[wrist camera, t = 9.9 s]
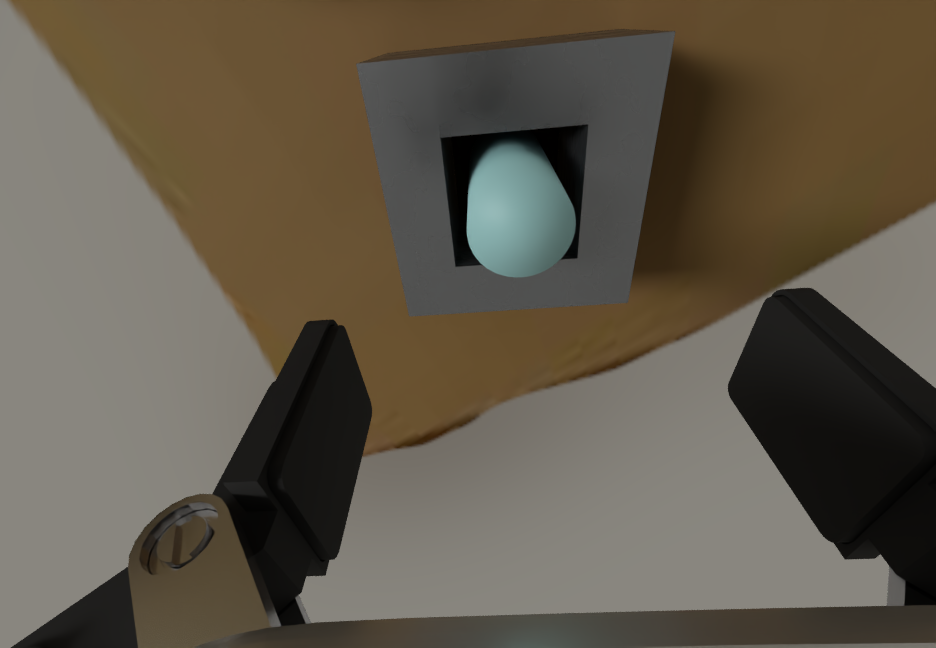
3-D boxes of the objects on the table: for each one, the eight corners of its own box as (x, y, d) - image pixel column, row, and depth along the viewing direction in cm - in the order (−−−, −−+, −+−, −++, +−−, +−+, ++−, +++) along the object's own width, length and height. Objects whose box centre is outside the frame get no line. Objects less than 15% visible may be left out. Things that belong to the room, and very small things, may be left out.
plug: (466, 125, 23) (461, 180, 15) (543, 118, 23) (579, 170, 15) (472, 200, 26) (471, 280, 18) (541, 195, 26) (571, 273, 18)
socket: (387, 53, 21) (356, 63, 16) (620, 29, 21) (675, 31, 15) (422, 258, 28) (409, 316, 23) (596, 245, 28) (627, 302, 22)
